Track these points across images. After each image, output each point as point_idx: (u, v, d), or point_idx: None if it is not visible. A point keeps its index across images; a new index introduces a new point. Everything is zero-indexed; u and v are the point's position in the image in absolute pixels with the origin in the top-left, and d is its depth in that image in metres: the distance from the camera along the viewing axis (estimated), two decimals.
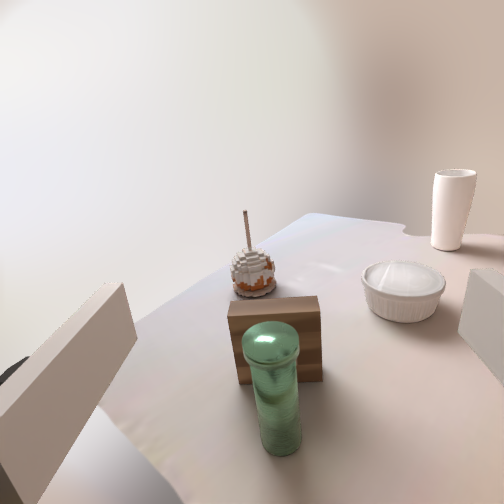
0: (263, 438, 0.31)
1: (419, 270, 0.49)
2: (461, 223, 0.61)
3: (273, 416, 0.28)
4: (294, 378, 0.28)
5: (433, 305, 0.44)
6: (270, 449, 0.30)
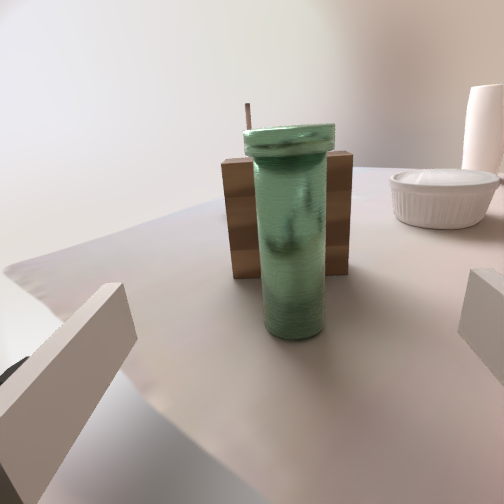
0: (268, 314, 0.20)
1: (462, 172, 0.39)
2: (500, 146, 0.51)
3: (288, 260, 0.18)
4: (324, 198, 0.17)
5: (485, 204, 0.35)
6: (278, 330, 0.20)
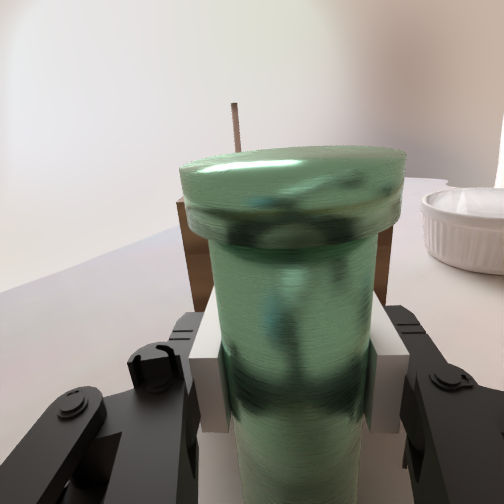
0: None
1: None
2: None
3: (289, 451, 0.08)
4: None
5: None
6: None
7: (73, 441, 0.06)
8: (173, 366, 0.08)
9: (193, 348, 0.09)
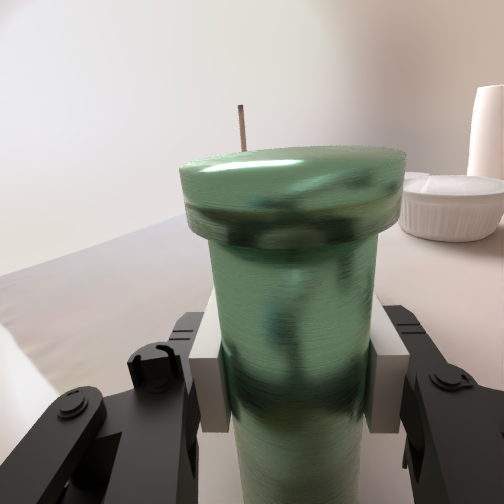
0: None
1: (472, 179, 0.36)
2: None
3: (289, 451, 0.08)
4: None
5: (498, 215, 0.32)
6: None
7: (73, 441, 0.06)
8: (173, 366, 0.08)
9: (193, 348, 0.09)
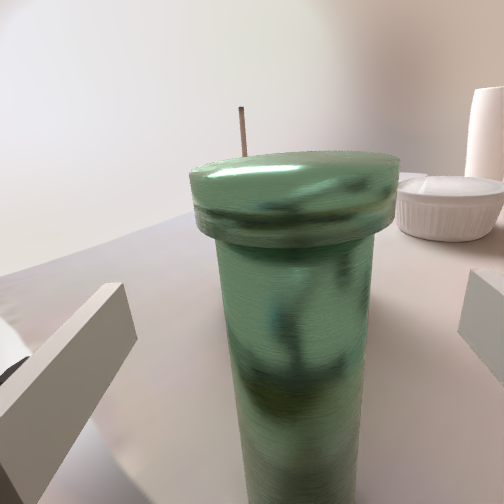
0: (253, 499, 0.11)
1: (468, 180, 0.37)
2: None
3: (291, 438, 0.08)
4: None
5: (494, 215, 0.32)
6: None
7: None
8: None
9: None
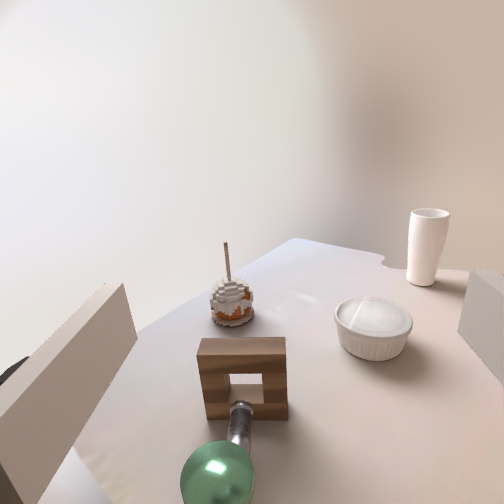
0: None
1: (389, 308, 0.50)
2: (434, 261, 0.63)
3: None
4: None
5: (400, 345, 0.46)
6: None
7: None
8: None
9: None
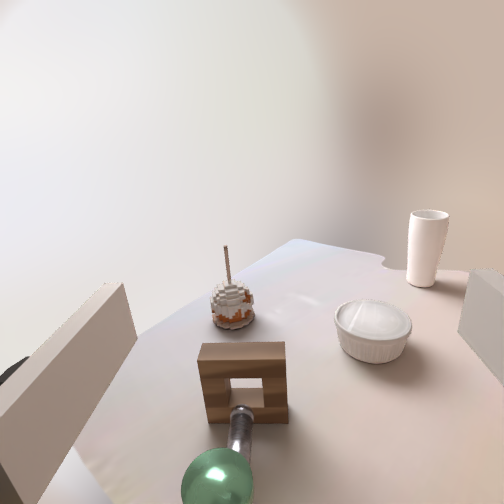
0: None
1: (389, 311, 0.51)
2: (434, 262, 0.63)
3: None
4: None
5: (399, 348, 0.46)
6: None
7: None
8: None
9: None
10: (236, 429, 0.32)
